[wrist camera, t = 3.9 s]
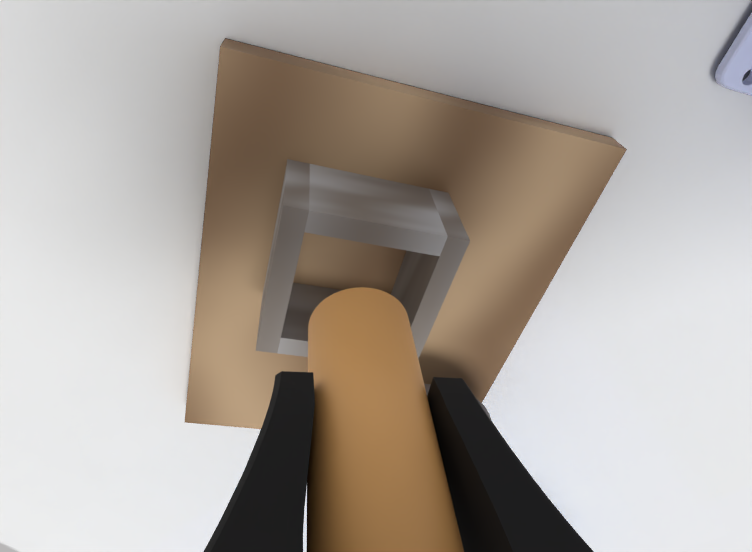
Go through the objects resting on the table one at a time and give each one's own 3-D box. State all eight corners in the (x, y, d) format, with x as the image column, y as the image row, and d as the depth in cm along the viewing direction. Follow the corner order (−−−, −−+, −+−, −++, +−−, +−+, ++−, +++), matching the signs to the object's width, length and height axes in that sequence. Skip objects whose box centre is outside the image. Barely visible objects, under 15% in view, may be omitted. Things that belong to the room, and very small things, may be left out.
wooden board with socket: (612, 137, 18) (735, 237, 13) (445, 441, 27) (477, 570, 22) (225, 38, 15) (177, 116, 10) (187, 418, 24) (153, 562, 19)
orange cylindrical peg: (415, 287, 12) (511, 638, 6) (403, 363, 13) (472, 708, 8) (308, 286, 12) (306, 656, 6) (307, 365, 13) (305, 725, 7)
